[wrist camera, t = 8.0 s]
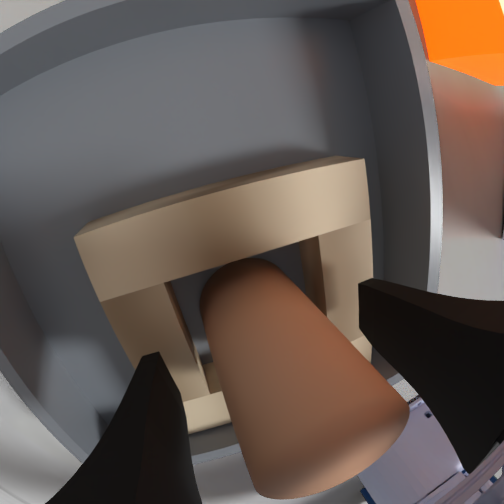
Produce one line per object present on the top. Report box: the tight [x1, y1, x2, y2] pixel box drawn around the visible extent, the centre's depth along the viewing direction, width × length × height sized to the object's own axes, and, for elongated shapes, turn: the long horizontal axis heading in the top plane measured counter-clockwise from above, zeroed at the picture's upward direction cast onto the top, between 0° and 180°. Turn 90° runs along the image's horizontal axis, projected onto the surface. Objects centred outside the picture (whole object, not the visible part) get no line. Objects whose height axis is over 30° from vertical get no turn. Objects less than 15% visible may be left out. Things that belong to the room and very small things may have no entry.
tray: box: [0, 0, 443, 464], centre depth 10 cm, size 18×18×4 cm
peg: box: [200, 258, 410, 499], centre depth 9 cm, size 4×4×8 cm
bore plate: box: [73, 156, 373, 434], centre depth 12 cm, size 10×10×2 cm
